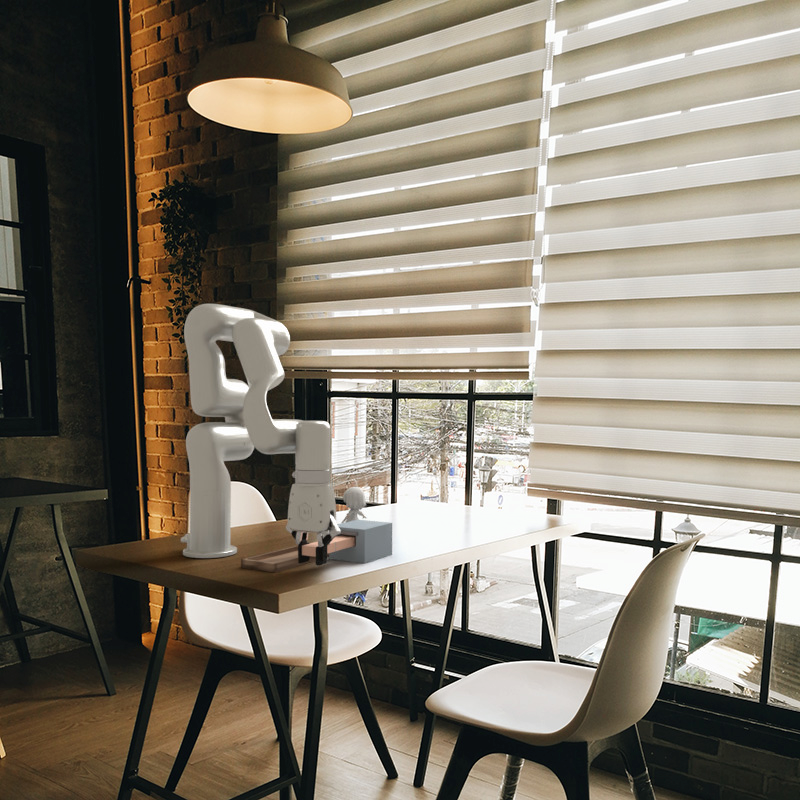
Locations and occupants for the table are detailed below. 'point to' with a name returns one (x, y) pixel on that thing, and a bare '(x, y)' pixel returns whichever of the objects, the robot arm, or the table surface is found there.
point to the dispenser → (365, 541)
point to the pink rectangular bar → (331, 545)
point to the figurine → (354, 503)
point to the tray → (275, 560)
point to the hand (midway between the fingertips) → (312, 562)
